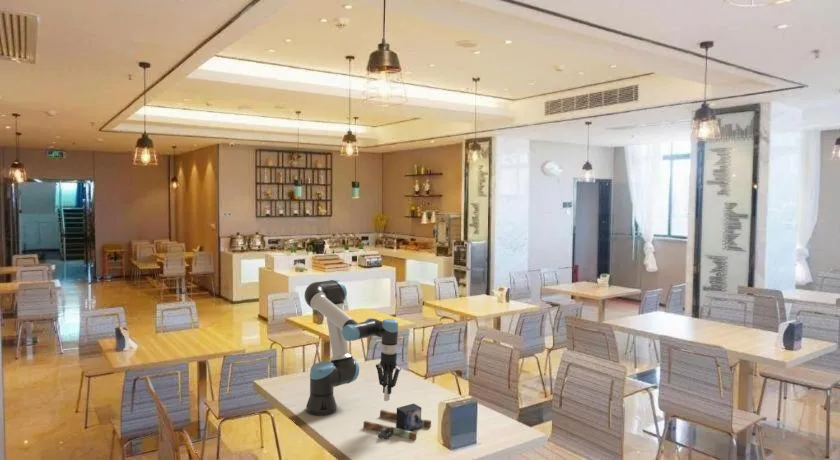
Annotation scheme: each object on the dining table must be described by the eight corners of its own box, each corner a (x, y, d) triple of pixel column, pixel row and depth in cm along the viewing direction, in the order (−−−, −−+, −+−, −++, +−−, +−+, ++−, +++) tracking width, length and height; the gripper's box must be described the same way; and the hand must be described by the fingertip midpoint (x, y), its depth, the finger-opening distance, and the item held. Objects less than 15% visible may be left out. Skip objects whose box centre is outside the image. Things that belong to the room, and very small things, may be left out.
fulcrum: (377, 437, 262) (377, 428, 261) (382, 434, 265) (382, 425, 265) (387, 439, 260) (387, 431, 259) (391, 436, 263) (391, 427, 263)
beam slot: (363, 428, 271) (363, 421, 271) (381, 415, 287) (381, 409, 286) (414, 440, 260) (415, 433, 259) (430, 426, 275) (431, 420, 275)
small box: (403, 434, 266) (404, 412, 265) (395, 429, 271) (395, 407, 270) (421, 428, 273) (422, 407, 272) (412, 424, 278) (413, 402, 277)
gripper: (373, 351, 275) (371, 399, 277) (397, 356, 269) (394, 405, 271) (381, 347, 281) (379, 394, 283) (404, 352, 275) (402, 400, 278)
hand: (386, 400), depth 277 cm, fingers closed
